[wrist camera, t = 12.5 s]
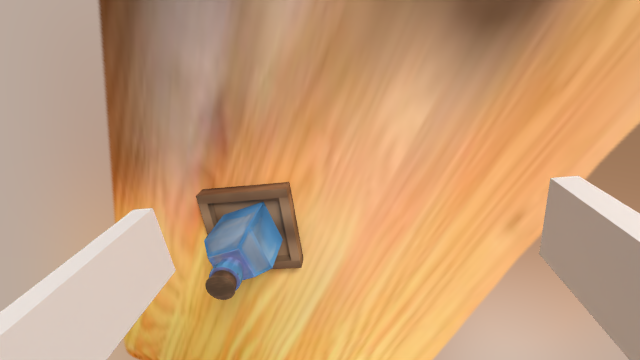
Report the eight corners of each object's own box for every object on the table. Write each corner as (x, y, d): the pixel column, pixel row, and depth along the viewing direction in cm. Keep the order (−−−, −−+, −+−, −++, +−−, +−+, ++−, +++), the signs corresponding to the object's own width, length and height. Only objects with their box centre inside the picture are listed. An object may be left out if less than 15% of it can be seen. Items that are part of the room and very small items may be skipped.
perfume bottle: (243, 251, 47) (209, 316, 36) (223, 215, 45) (180, 272, 34) (282, 239, 45) (259, 303, 34) (263, 201, 43) (232, 256, 32)
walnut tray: (202, 189, 44) (195, 196, 42) (289, 182, 42) (286, 188, 41) (224, 262, 49) (219, 271, 47) (303, 258, 47) (301, 267, 45)
